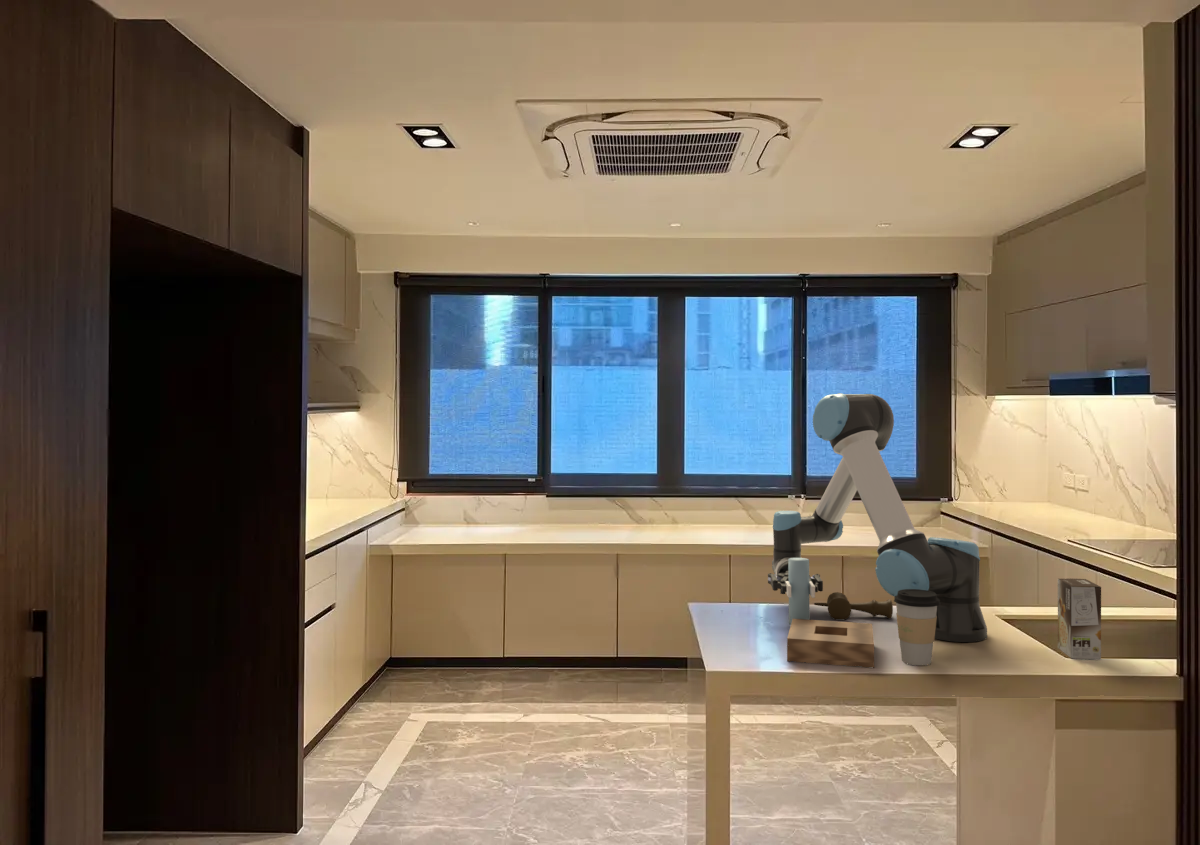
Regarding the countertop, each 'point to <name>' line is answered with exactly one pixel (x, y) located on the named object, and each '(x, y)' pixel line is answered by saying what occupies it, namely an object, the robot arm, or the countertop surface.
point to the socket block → (831, 643)
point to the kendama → (855, 607)
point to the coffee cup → (916, 624)
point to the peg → (799, 589)
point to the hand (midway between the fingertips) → (801, 591)
